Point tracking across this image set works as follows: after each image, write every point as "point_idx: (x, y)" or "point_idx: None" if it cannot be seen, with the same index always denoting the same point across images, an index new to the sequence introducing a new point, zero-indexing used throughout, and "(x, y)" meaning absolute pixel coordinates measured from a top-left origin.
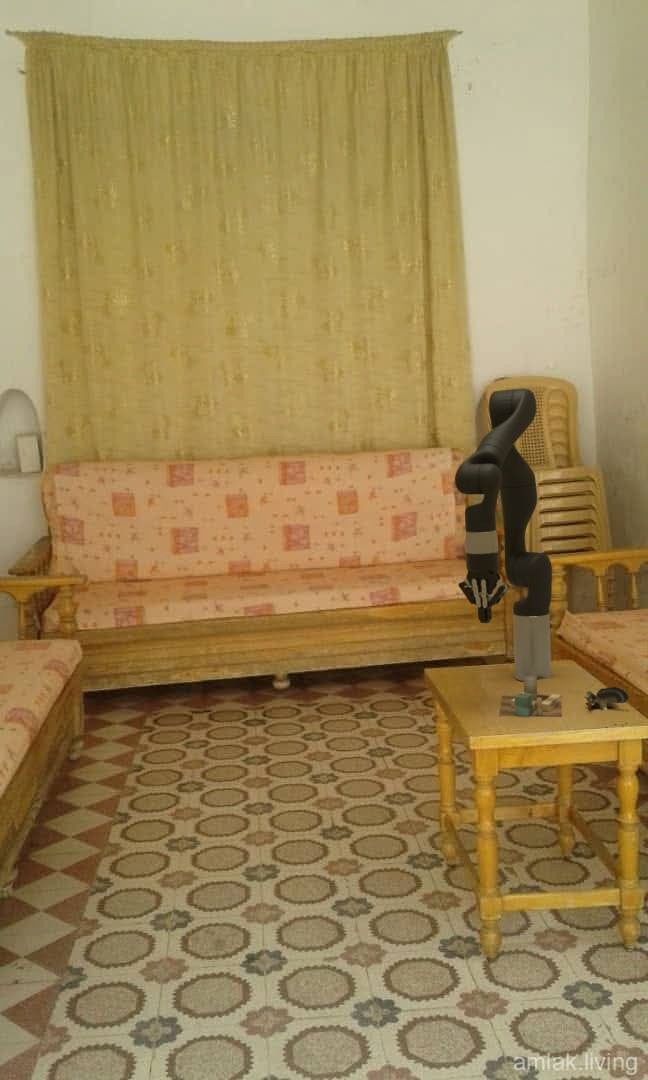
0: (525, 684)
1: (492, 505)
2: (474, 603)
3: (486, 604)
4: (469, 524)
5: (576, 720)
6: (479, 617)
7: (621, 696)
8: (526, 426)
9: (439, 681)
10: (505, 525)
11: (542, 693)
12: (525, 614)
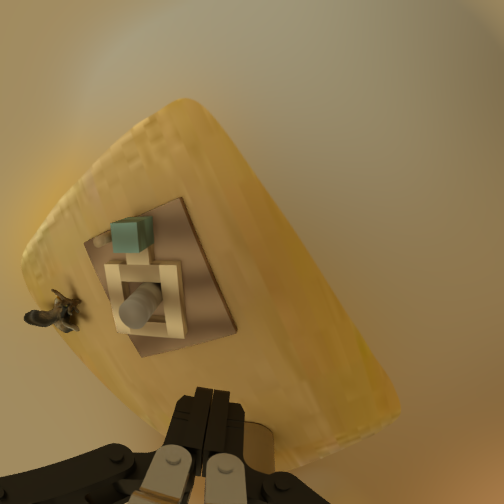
0: (142, 296)
1: None
2: (268, 479)
3: (156, 460)
4: None
5: (76, 258)
6: (235, 413)
7: (31, 315)
8: None
9: (383, 380)
10: None
11: (147, 331)
12: None
